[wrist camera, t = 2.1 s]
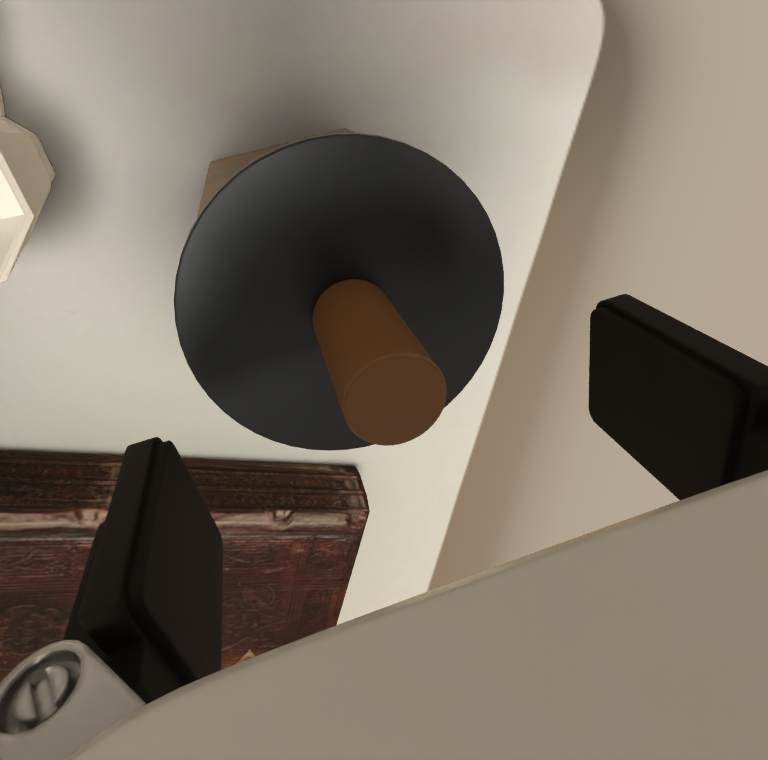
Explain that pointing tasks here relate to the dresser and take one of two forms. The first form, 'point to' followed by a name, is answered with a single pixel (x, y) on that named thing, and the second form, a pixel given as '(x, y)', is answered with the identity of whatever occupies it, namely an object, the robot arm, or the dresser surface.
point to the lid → (339, 292)
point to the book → (237, 528)
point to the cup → (19, 188)
